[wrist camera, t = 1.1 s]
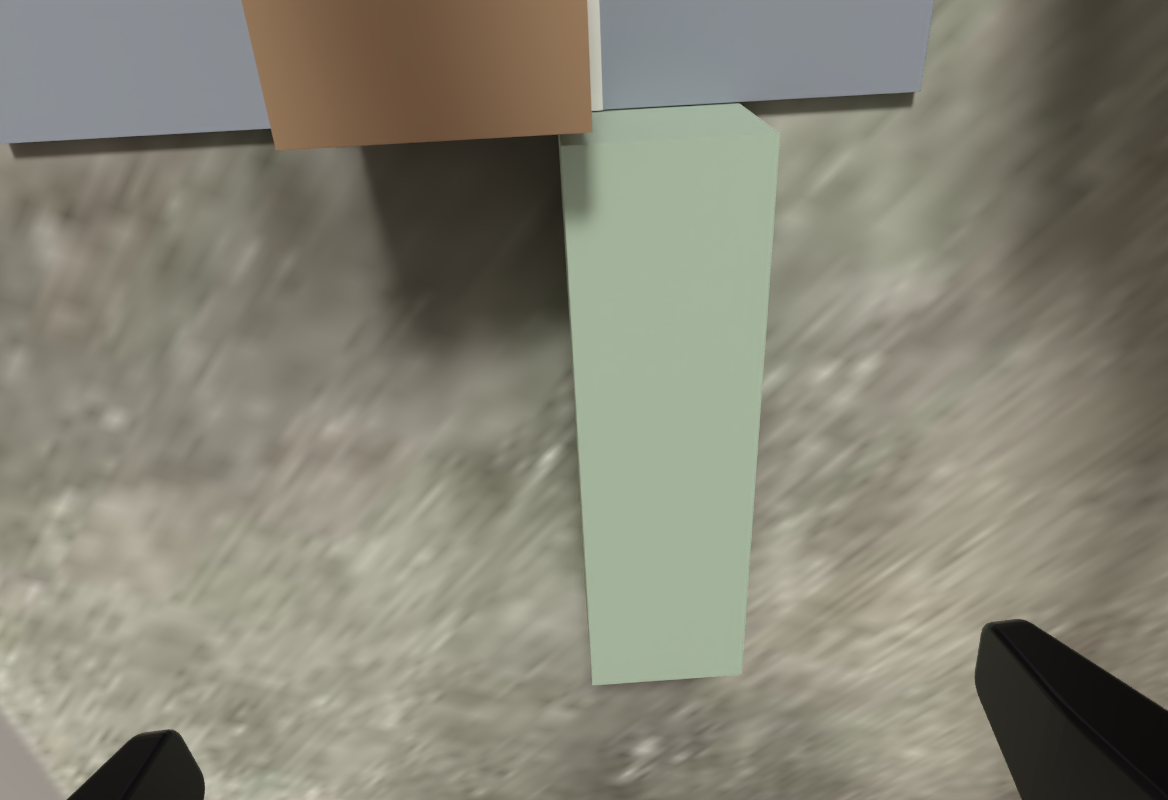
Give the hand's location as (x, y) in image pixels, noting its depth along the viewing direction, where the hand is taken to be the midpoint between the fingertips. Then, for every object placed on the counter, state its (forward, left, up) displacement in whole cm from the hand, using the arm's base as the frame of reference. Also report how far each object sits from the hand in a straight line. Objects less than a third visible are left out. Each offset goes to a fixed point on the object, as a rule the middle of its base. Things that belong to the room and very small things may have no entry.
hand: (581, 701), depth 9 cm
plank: (-2, +3, -13) cm, 13 cm away
